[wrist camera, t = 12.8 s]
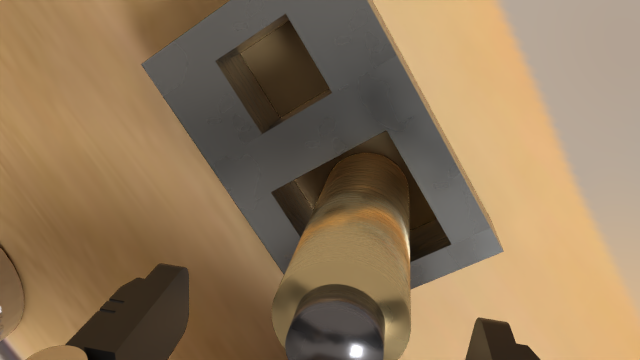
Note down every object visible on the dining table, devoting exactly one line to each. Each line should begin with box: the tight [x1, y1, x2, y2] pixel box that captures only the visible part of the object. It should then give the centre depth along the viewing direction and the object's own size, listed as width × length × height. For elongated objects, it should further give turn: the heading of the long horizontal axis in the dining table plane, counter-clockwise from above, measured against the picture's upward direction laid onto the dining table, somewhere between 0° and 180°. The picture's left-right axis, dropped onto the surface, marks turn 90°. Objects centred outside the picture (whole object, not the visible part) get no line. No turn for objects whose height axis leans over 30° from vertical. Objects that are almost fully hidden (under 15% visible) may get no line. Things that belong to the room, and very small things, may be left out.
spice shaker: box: [272, 153, 411, 360], centre depth 18 cm, size 4×4×11 cm
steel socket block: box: [141, 0, 504, 290], centre depth 21 cm, size 14×9×3 cm, turn 32°
